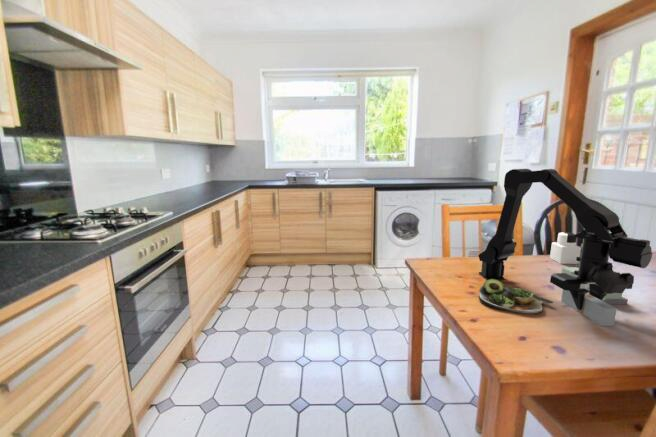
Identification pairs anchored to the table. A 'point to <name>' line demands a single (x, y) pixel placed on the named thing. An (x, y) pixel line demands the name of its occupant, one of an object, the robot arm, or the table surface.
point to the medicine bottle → (565, 249)
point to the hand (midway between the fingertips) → (585, 309)
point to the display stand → (609, 298)
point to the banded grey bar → (592, 308)
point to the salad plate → (510, 297)
